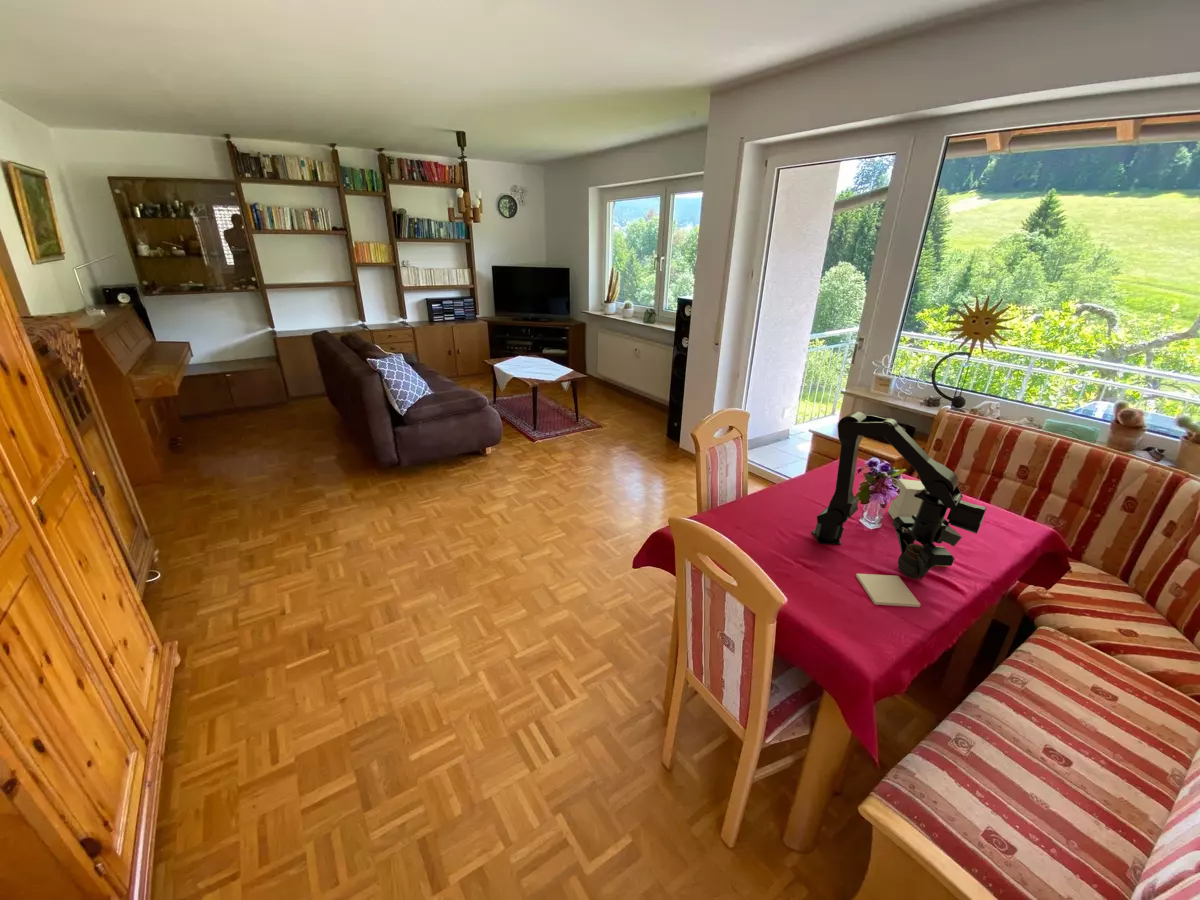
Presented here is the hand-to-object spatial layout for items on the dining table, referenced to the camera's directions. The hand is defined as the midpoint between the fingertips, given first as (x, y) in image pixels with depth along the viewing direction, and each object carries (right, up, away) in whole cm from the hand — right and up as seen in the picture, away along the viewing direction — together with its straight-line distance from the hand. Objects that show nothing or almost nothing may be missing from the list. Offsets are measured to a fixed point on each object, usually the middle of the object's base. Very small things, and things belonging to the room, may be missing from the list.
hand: (912, 565), depth 133 cm
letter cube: (+11, 0, +6) cm, 12 cm away
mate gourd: (0, -2, +1) cm, 3 cm away
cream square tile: (-10, -5, -6) cm, 13 cm away
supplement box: (+14, +9, +27) cm, 32 cm away
